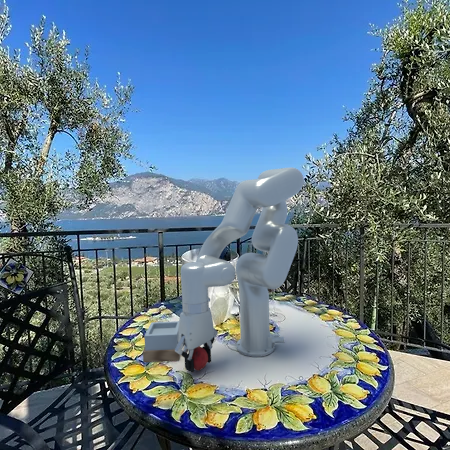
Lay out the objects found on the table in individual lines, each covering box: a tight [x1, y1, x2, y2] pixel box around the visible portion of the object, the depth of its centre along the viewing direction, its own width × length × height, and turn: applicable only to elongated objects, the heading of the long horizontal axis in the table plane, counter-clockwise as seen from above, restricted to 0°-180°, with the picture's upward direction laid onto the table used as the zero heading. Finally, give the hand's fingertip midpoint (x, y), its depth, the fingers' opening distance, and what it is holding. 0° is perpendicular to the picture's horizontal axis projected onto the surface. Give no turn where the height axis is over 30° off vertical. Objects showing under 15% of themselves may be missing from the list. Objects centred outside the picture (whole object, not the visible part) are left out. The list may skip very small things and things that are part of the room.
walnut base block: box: [142, 347, 181, 364], centre depth 101 cm, size 11×11×4 cm
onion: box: [192, 345, 208, 372], centre depth 90 cm, size 6×6×8 cm
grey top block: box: [143, 320, 179, 351], centre depth 101 cm, size 10×10×5 cm
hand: (198, 365), depth 90 cm, fingers closed on onion, 5 cm apart
